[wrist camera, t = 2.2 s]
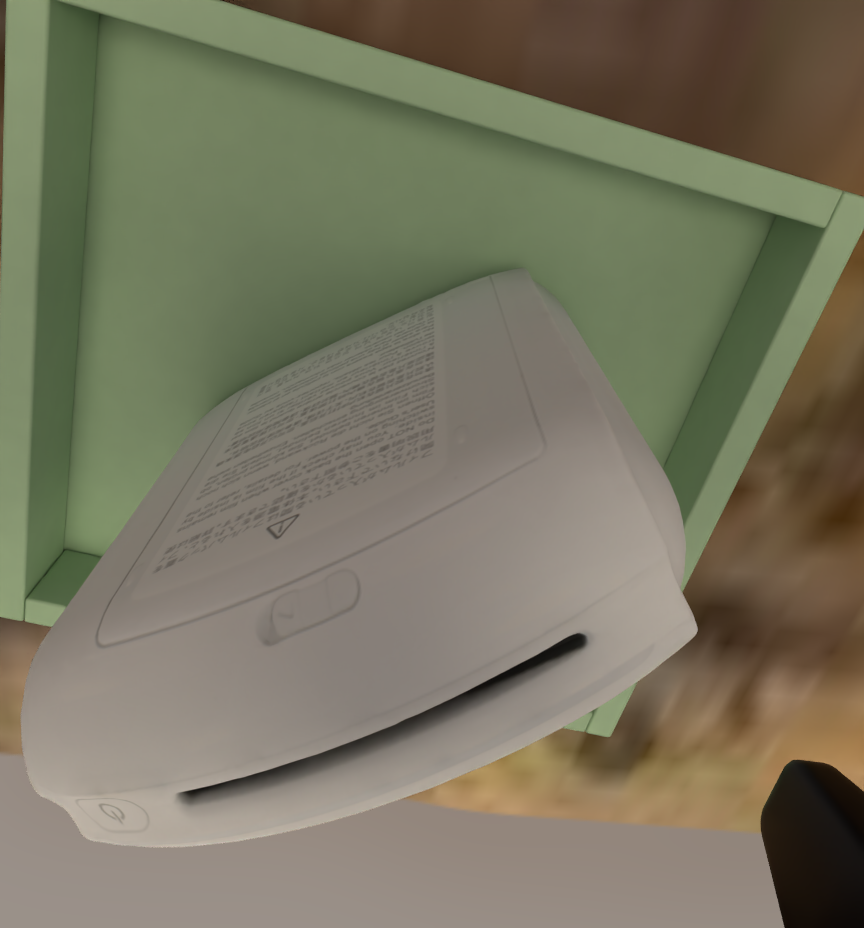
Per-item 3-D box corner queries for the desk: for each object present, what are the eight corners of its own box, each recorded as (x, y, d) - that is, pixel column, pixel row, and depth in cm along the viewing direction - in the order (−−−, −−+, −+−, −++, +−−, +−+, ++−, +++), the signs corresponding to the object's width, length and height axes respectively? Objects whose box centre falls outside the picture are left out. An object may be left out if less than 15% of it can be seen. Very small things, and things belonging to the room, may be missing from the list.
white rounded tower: (262, 531, 22) (96, 979, 11) (179, 407, 20) (-122, 787, 9) (595, 386, 20) (811, 745, 9) (534, 236, 18) (709, 449, 7)
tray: (814, 186, 18) (879, 201, 16) (590, 671, 25) (610, 738, 22) (73, -39, 16) (5, -66, 14) (41, 556, 23) (-8, 616, 20)
